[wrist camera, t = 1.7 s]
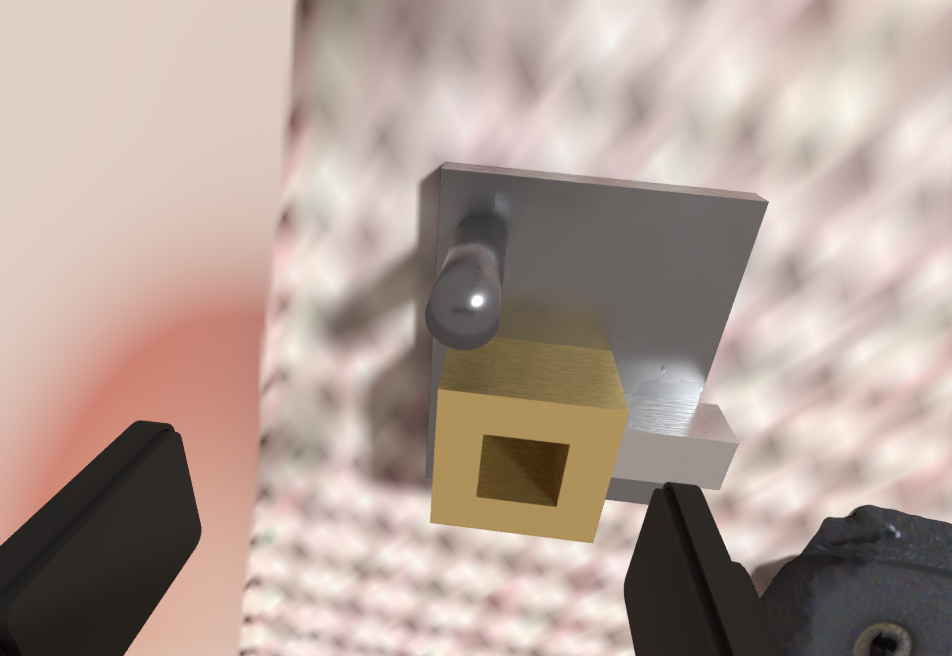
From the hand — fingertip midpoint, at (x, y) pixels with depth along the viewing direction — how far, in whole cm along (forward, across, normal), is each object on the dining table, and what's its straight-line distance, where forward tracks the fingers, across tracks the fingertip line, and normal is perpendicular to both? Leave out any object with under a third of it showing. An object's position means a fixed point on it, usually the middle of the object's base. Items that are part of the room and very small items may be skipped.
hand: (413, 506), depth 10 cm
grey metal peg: (+16, 0, -1) cm, 16 cm away
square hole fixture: (+17, -5, +5) cm, 19 cm away
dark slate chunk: (+18, -32, +22) cm, 43 cm away
